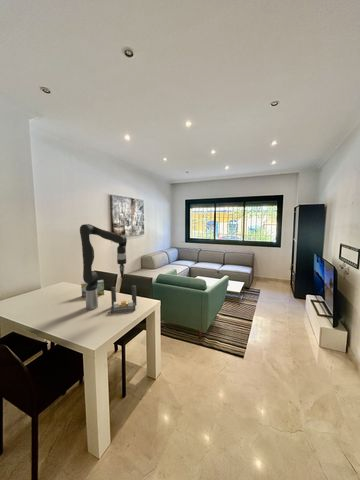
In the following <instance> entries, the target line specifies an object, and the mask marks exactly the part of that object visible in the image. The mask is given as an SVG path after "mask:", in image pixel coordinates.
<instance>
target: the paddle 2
mask: <svg viewBox="0 0 360 480" xmlns="http://www.w3.org/2000/svg"><path fill="white" fill-rule="evenodd" d="M127 302H128V303H127V304H128V306H133V300H132V299H131V300H128V301H127Z"/></svg>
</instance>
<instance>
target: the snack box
mask: <svg viewBox="0 0 360 480" xmlns="http://www.w3.org/2000/svg"><path fill="white" fill-rule="evenodd" d="M80 283H81V284H80V285H81V289H80V290H81V298H86V286H87V284H88V283H85V282H84V281H82V282H80ZM97 295H98V296H103V295H104V296H105V283H104V279H98V285H97Z"/></svg>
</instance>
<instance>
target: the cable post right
mask: <svg viewBox="0 0 360 480" xmlns="http://www.w3.org/2000/svg"><path fill="white" fill-rule="evenodd" d="M131 300H133V303H134V302H135V306H137V285H132V286H131Z"/></svg>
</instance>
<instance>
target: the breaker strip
mask: <svg viewBox="0 0 360 480" xmlns="http://www.w3.org/2000/svg"><path fill="white" fill-rule="evenodd" d="M110 311H111V314H115V313H126V312H135V311H136V305H135V302H134V303H133V306H128V303H126V307H121V304H119V307H117V308H114V305H112V304H111V307H110Z"/></svg>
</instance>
